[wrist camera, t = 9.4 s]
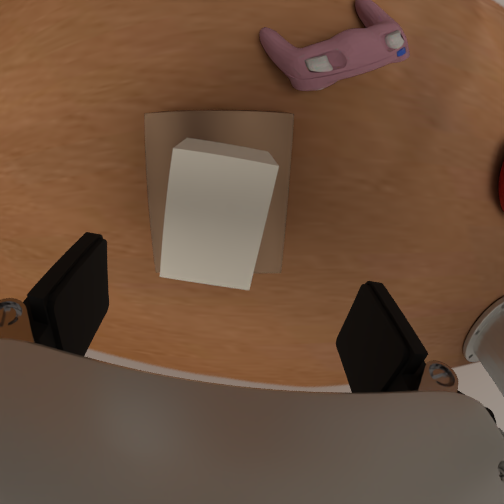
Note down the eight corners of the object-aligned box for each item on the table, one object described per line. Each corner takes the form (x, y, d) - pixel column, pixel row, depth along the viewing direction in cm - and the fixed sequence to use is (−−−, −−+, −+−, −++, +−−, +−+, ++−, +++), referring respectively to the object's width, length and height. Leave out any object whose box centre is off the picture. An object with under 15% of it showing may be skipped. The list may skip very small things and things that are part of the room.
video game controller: (272, 77, 21) (309, 113, 17) (249, 29, 18) (284, 50, 13) (374, 39, 20) (429, 68, 15) (361, -7, 16) (422, 10, 12)
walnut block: (281, 111, 21) (294, 113, 17) (272, 242, 26) (281, 273, 22) (162, 111, 21) (144, 113, 16) (167, 242, 26) (155, 272, 21)
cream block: (268, 151, 18) (279, 166, 14) (245, 252, 21) (249, 290, 17) (186, 137, 17) (172, 148, 13) (172, 241, 20) (159, 276, 16)
